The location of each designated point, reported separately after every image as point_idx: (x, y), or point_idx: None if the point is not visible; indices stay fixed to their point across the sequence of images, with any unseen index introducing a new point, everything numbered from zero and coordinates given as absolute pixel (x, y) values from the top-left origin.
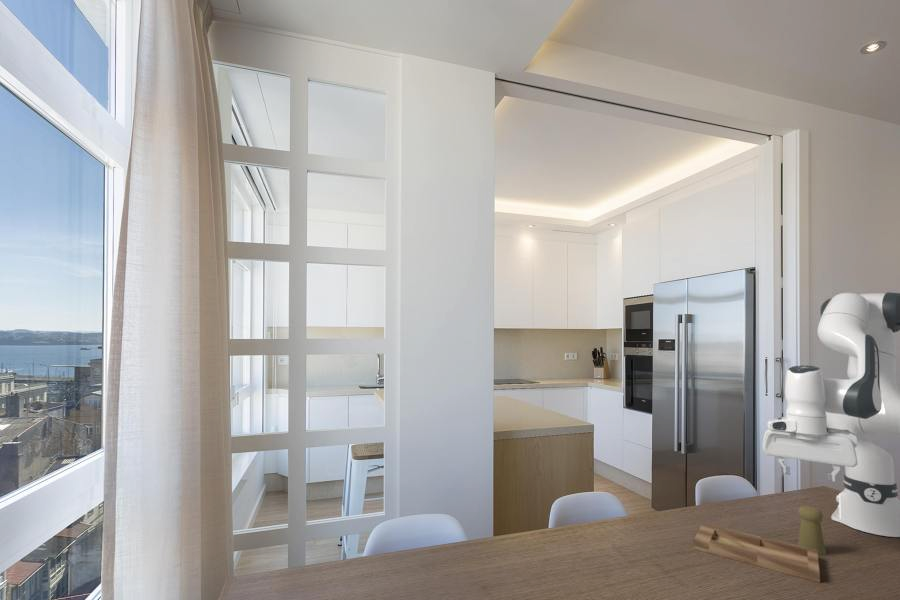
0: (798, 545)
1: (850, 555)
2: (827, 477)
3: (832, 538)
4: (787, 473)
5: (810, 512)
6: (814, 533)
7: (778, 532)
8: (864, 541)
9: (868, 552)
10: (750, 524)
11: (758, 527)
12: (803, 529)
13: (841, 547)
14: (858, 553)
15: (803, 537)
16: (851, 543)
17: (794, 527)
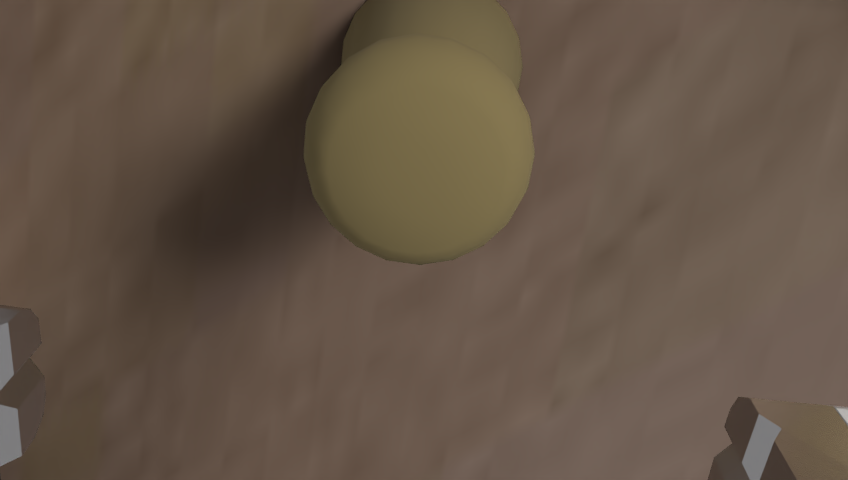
0: (520, 58)
1: (192, 116)
2: (18, 421)
3: (269, 378)
4: (797, 403)
5: (426, 64)
6: (409, 21)
7: (603, 301)
8: (96, 428)
9: (84, 245)
10: (775, 357)
11: (729, 327)
12: (492, 53)
13: (232, 242)
14: (142, 189)
15: (493, 31)
16: (168, 351)
17: (475, 453)
